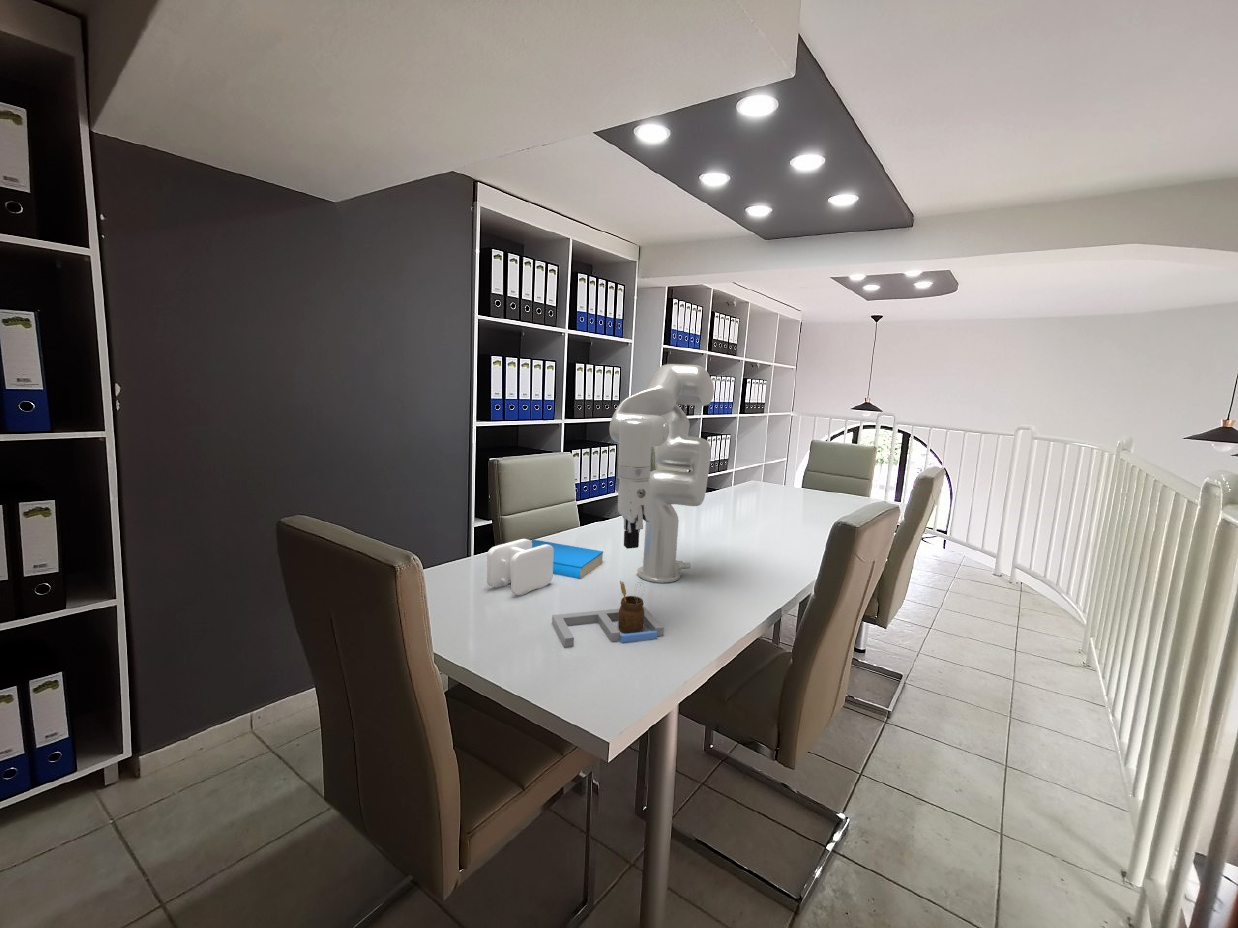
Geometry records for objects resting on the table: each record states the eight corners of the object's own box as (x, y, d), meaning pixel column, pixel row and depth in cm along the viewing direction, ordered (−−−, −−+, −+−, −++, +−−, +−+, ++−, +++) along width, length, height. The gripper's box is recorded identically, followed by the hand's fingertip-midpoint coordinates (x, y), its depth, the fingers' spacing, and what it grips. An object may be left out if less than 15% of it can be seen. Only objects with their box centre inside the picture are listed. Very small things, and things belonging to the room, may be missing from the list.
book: (533, 539, 182) (603, 549, 174) (532, 552, 183) (603, 563, 174) (504, 553, 166) (581, 566, 158) (504, 567, 167) (580, 580, 158)
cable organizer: (512, 600, 141) (513, 556, 140) (485, 589, 148) (485, 547, 146) (553, 584, 153) (554, 543, 152) (526, 574, 160) (527, 535, 158)
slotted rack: (643, 613, 137) (644, 606, 137) (665, 637, 125) (665, 629, 125) (552, 623, 129) (552, 615, 129) (565, 649, 117) (565, 640, 117)
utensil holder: (648, 631, 128) (651, 581, 126) (626, 636, 124) (629, 585, 123) (633, 621, 133) (636, 573, 131) (611, 626, 129) (614, 577, 127)
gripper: (662, 478, 123) (658, 556, 127) (637, 464, 137) (634, 535, 140) (630, 480, 120) (627, 559, 124) (608, 465, 134) (606, 538, 138)
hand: (631, 546), depth 132 cm, fingers closed
